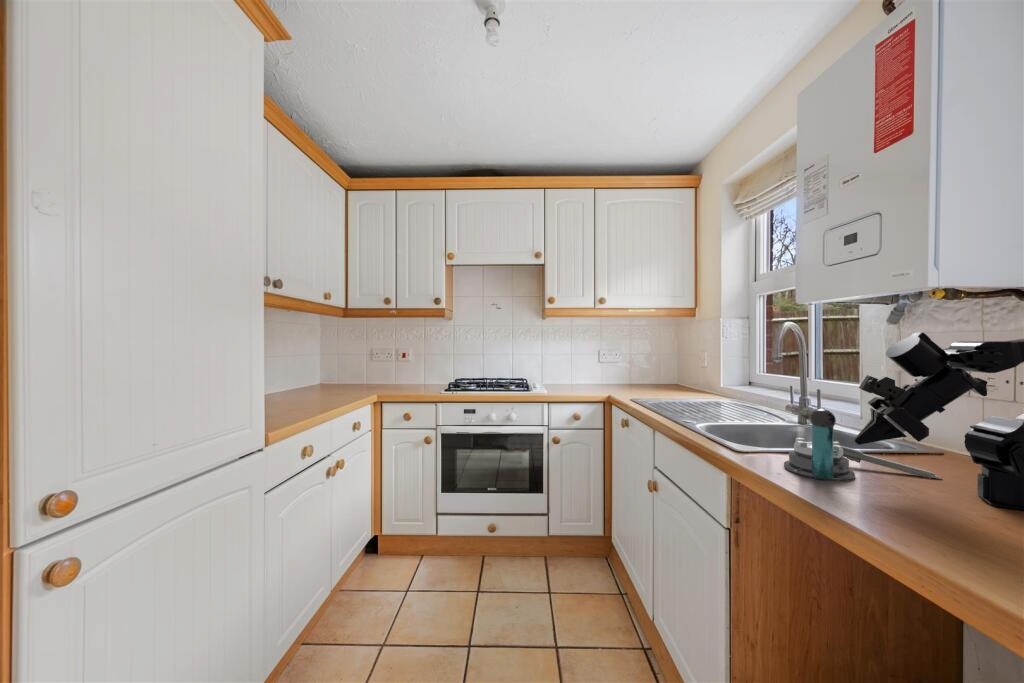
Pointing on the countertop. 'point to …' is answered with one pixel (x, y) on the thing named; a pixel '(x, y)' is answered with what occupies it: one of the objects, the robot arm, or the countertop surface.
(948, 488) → the countertop surface
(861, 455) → the caliper
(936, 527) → the countertop surface
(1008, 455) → the robot arm
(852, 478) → the cap housing
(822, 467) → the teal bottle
